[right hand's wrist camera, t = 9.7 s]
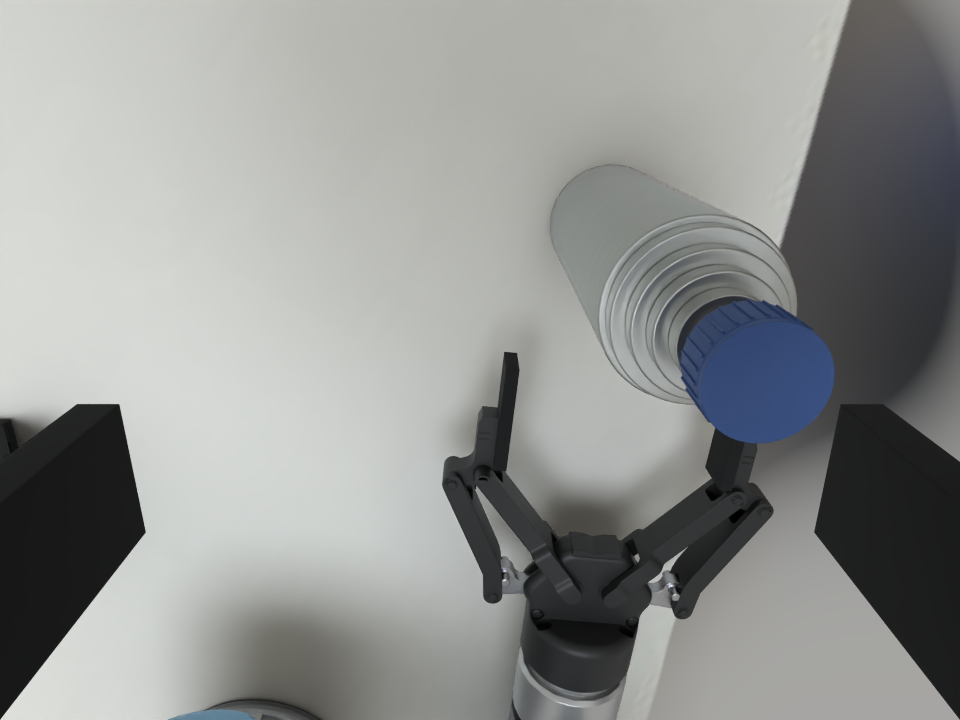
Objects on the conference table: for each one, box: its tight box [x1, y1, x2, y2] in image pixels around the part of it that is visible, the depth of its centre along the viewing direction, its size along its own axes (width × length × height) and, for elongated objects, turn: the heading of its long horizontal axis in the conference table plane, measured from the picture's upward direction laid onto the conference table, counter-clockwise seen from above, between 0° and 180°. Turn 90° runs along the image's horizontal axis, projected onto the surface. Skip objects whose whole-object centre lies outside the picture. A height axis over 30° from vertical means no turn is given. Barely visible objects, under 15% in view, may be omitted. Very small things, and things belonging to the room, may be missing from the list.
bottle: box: [550, 165, 797, 404], centre depth 31 cm, size 7×7×25 cm
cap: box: [679, 299, 835, 443], centre depth 20 cm, size 4×4×2 cm
